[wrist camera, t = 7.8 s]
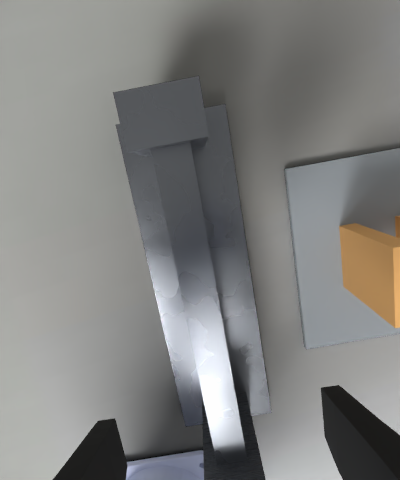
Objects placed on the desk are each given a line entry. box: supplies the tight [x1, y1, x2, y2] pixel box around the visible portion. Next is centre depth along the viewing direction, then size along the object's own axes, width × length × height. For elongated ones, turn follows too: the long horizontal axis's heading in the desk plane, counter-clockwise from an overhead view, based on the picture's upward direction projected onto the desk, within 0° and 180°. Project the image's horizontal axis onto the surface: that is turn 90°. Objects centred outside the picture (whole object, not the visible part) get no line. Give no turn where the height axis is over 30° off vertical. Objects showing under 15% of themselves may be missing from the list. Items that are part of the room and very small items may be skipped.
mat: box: [284, 148, 400, 349], centre depth 19 cm, size 12×10×1 cm
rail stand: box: [113, 76, 272, 480], centre depth 16 cm, size 20×6×7 cm, turn 10°
